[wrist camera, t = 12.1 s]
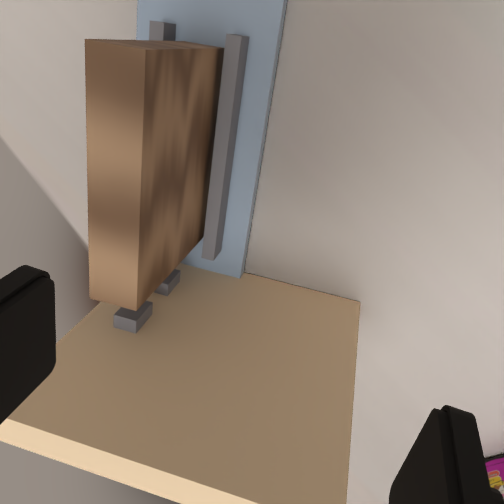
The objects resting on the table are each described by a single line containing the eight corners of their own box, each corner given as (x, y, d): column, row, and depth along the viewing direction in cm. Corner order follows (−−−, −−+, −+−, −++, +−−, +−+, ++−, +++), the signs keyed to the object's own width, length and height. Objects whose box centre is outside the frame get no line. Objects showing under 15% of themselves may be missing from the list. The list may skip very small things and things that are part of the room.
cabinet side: (147, -48, 31) (-165, -173, 13) (452, -4, 28) (583, -90, 10) (135, 263, 41) (-46, 426, 24) (354, 321, 38) (334, 558, 21)
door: (184, 41, 31) (84, 39, 21) (225, 48, 31) (145, 49, 20) (170, 235, 38) (89, 309, 27) (204, 243, 37) (135, 322, 27)
